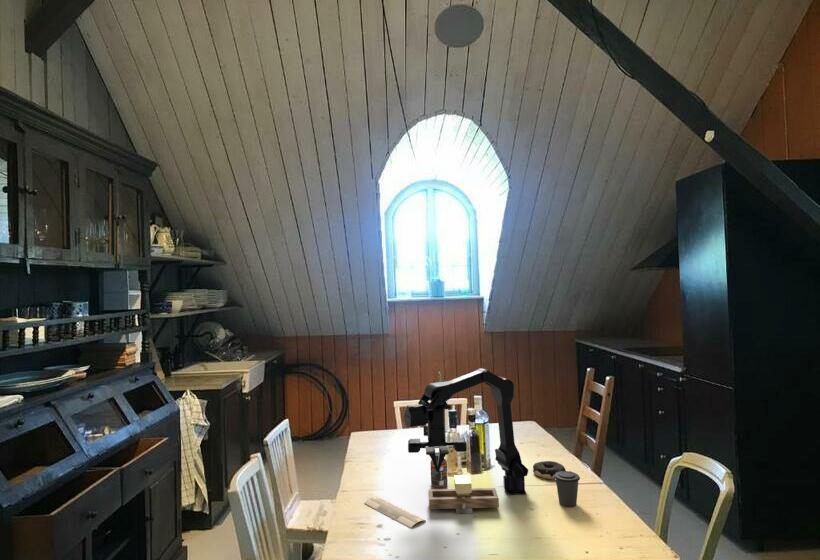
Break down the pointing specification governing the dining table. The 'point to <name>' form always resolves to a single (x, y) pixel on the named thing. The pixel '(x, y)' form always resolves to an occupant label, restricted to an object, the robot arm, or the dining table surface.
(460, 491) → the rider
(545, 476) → the donut
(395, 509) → the beige piece
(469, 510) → the brown wooden rectangular tray
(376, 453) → the dining table surface
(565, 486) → the coffee cup
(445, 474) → the supplement bottle
